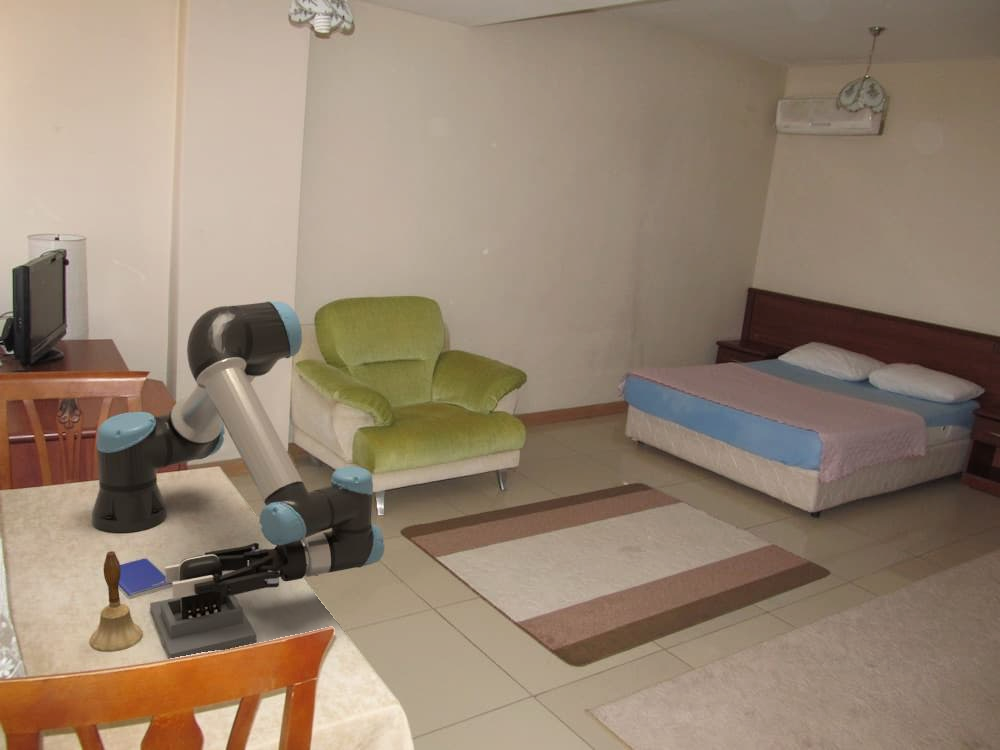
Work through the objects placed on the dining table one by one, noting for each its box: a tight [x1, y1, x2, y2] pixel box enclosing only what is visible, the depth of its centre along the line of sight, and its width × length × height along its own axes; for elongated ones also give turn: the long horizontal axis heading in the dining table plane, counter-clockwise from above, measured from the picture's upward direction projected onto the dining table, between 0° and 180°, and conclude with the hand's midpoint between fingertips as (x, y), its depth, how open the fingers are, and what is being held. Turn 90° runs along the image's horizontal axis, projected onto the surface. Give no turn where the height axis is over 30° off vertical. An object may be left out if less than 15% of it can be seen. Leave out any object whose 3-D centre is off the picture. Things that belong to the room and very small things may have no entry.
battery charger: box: [178, 554, 223, 620], centre depth 148 cm, size 7×4×11 cm, turn 121°
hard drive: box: [118, 558, 172, 600], centre depth 163 cm, size 2×8×12 cm
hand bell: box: [89, 551, 144, 652], centre depth 142 cm, size 8×8×16 cm
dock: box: [149, 589, 257, 659], centre depth 149 cm, size 18×14×4 cm
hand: (169, 582), depth 144 cm, fingers open, 5 cm apart
